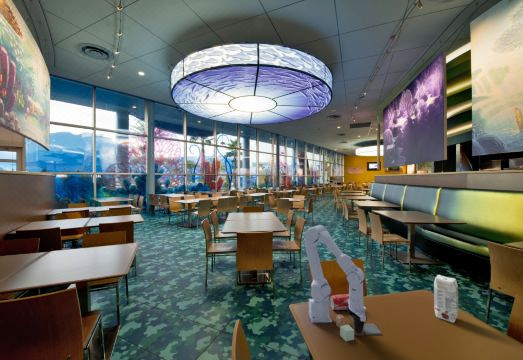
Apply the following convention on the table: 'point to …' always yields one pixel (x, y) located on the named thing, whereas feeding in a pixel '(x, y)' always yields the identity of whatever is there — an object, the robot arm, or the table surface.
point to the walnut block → (352, 325)
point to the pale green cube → (346, 332)
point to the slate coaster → (371, 329)
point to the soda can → (339, 302)
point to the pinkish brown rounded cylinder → (339, 320)
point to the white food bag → (446, 298)
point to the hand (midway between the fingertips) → (356, 328)
